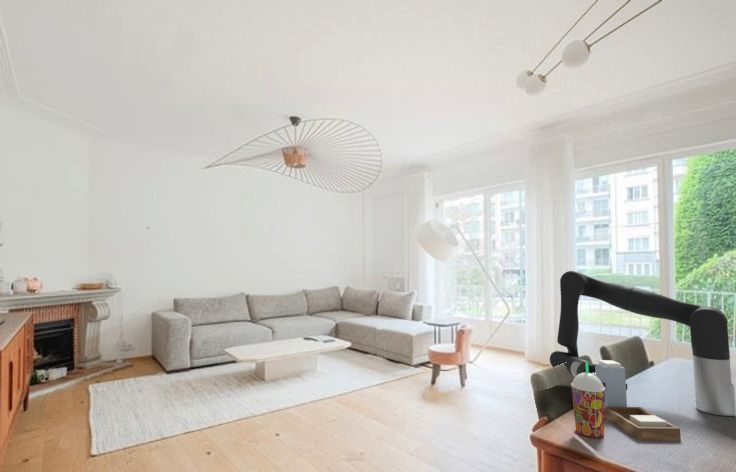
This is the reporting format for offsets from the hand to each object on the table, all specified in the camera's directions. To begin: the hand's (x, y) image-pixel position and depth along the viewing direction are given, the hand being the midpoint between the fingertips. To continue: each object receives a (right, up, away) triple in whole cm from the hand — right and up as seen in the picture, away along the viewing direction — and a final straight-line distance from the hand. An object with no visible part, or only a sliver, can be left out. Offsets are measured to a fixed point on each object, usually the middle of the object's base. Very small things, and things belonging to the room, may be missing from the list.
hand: (615, 387), depth 123 cm
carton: (0, -9, +2) cm, 9 cm away
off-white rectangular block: (0, -7, -15) cm, 17 cm away
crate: (0, -8, -11) cm, 14 cm away
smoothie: (-16, -8, -15) cm, 24 cm away
